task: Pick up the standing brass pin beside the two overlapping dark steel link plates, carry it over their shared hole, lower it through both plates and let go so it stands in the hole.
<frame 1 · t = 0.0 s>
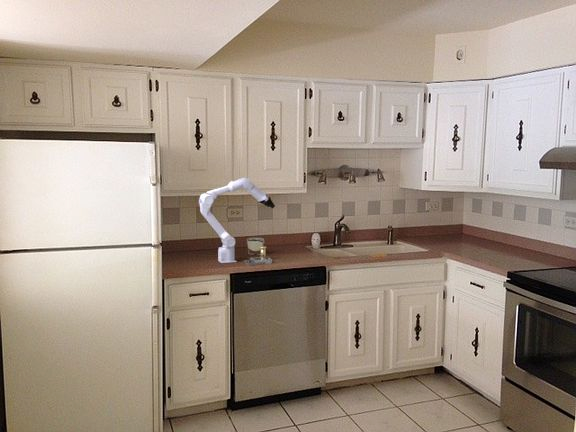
hand: (271, 206, 316), 32 cm above the counter, tool tilted 50°, fingers open, 7 cm apart
food container: (257, 253, 333), on the counter
brass pin: (263, 259, 314), on the counter
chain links: (257, 262, 306), on the counter
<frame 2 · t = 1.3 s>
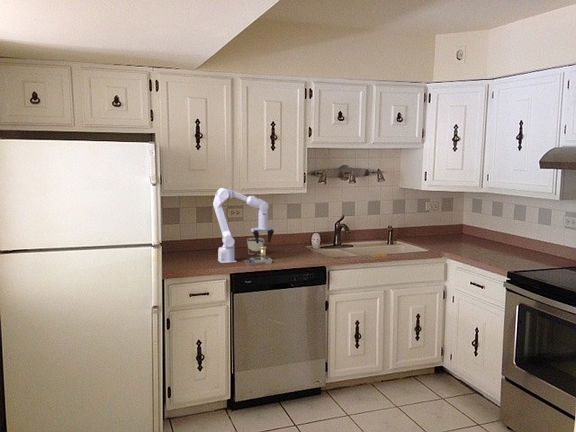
hand: (263, 242, 313), 11 cm above the counter, tool pointing down, fingers open, 7 cm apart
nothing on the counter moved.
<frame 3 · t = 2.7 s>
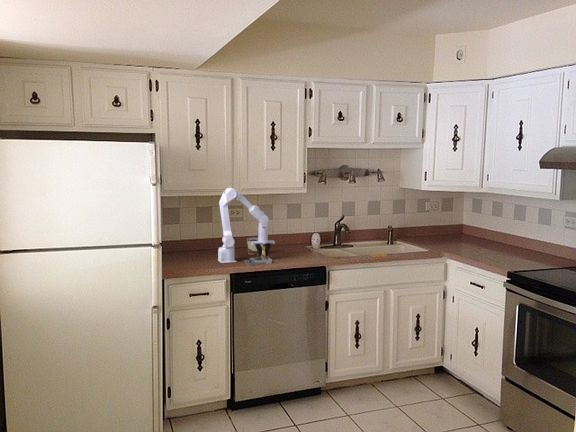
hand: (263, 255, 314), 2 cm above the counter, tool pointing down, fingers closed on brass pin, 4 cm apart
brass pin: (263, 259, 314), on the counter, touching gripper
everything else where it was.
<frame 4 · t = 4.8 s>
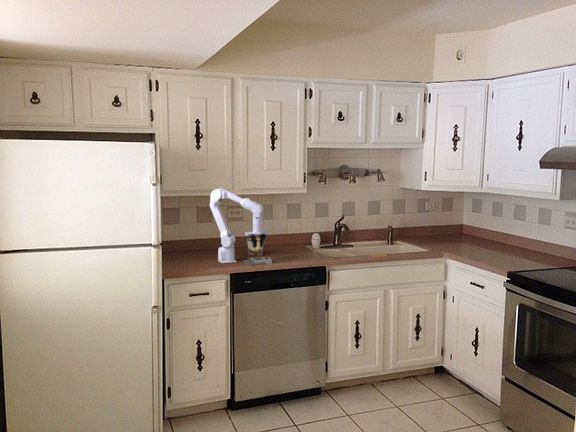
hand: (257, 247, 305), 9 cm above the counter, tool pointing down, fingers closed on brass pin, 4 cm apart
brass pin: (257, 251, 305), point 7 cm above the counter, touching gripper
everything else where it was.
when the fingers open (3 cm above the counter, at t = 7.0 s): brass pin stays where it is, resting in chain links.
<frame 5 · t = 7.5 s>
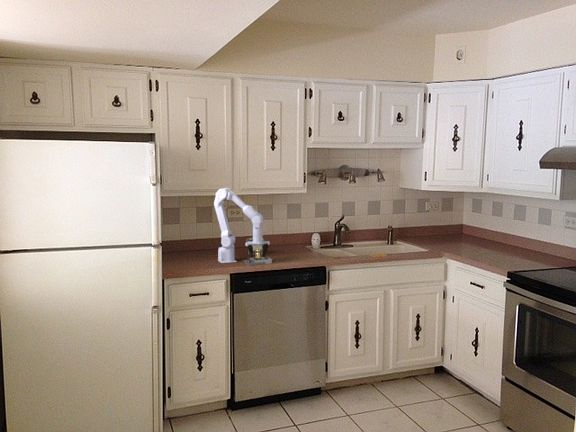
hand: (257, 257, 305), 3 cm above the counter, tool pointing down, fingers open, 7 cm apart
brass pin: (257, 262, 306), resting in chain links
everything else where it was.
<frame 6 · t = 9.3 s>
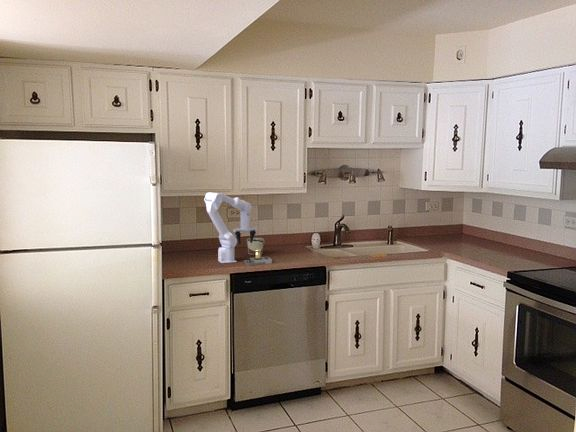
hand: (245, 243, 318), 9 cm above the counter, tool pointing down, fingers open, 7 cm apart
nothing on the counter moved.
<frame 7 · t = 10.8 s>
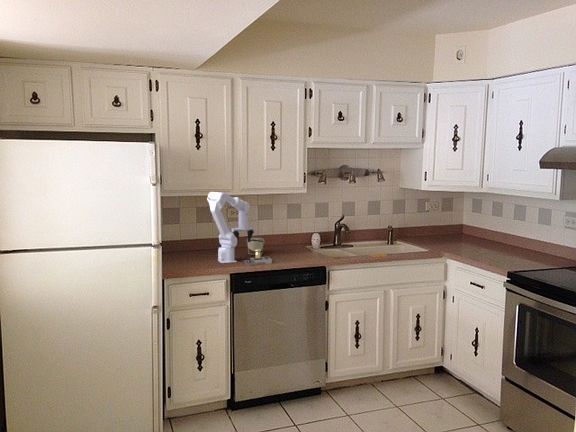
hand: (243, 242, 320), 9 cm above the counter, tool pointing down, fingers open, 7 cm apart
nothing on the counter moved.
at the end: brass pin 0.2 cm off-centre on the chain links, point 0.0 cm above the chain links's base; brass pin tilted 1°; the gripper is holding nothing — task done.
